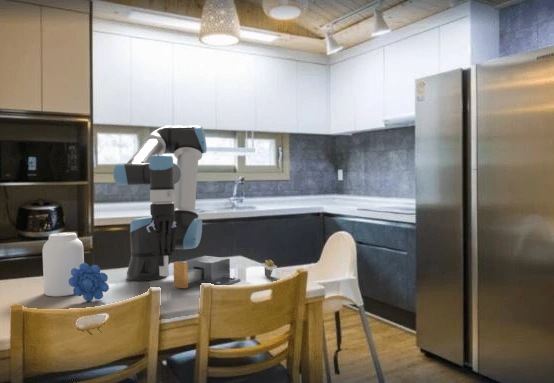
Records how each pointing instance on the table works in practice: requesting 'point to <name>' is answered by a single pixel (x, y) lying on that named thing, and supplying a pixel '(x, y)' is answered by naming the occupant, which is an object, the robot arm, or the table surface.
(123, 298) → the table surface
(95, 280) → the blue rosette flower
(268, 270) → the potted plant
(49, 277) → the white jar
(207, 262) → the bracket
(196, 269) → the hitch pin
